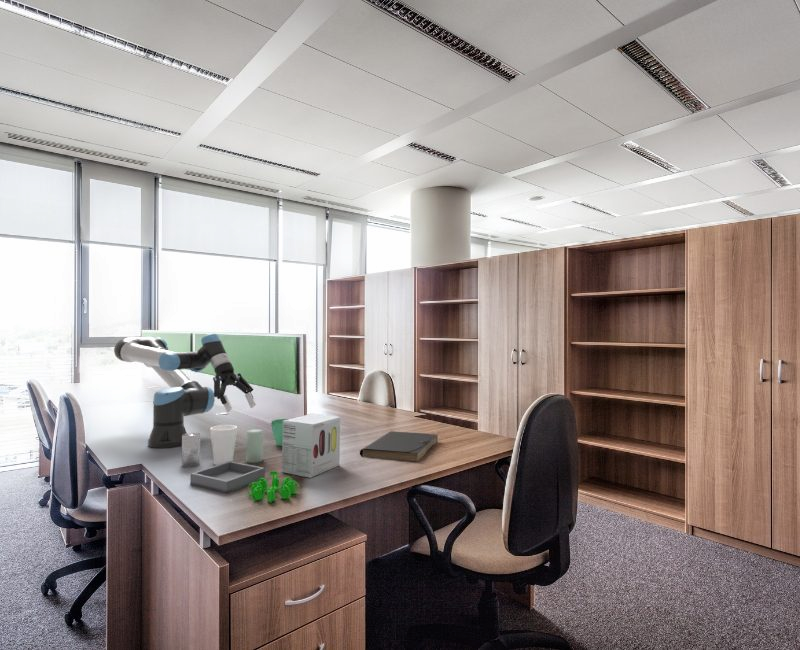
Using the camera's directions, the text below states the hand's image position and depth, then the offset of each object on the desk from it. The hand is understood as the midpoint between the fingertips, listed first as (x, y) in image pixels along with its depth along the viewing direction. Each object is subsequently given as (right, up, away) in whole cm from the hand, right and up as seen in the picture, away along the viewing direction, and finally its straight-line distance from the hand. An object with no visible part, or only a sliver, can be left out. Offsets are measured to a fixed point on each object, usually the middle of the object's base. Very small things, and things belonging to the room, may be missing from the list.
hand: (241, 408), depth 194 cm
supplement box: (+36, -16, -31) cm, 50 cm away
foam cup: (+2, -16, -25) cm, 29 cm away
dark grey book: (+68, -17, -1) cm, 70 cm away
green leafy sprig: (+29, -16, -57) cm, 66 cm away
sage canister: (+12, -16, -21) cm, 29 cm away
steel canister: (-9, -15, -28) cm, 33 cm away
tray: (+11, -15, -45) cm, 49 cm away
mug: (+19, -16, +2) cm, 25 cm away
